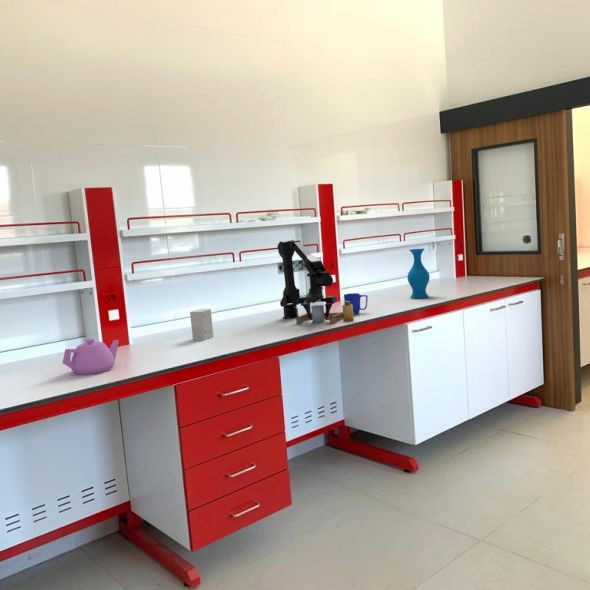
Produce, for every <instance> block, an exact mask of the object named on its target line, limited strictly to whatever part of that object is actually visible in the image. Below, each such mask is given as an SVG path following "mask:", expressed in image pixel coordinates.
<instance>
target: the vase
mask: <svg viewBox="0 0 590 590" xmlns="http://www.w3.org/2000/svg"><path fill="white" fill-rule="evenodd" d="M424 251H425V248H413V249H409V252H410V253H411V254H412V256H413V264H412V266H411V268H410V270H409V271H408V273H407V281H408V283H409V286H410V287H411V289H412V293H411V295H410V298H411V299H426V298H428V297H429V295H428V293H427V286H428V285H429V282H430V278H431V277H430V273H429V271H428V270H427V268H425V266H424V264H423V262H422V254H423V252H424Z"/></svg>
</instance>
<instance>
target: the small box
mask: <svg viewBox="0 0 590 590" xmlns="http://www.w3.org/2000/svg"><path fill="white" fill-rule="evenodd" d="M189 315H190V316H189V317H190V323H191V324H190V325H191V326H190V327H191V333H192V340H193V341H206V340H208V339H211V338H213V337H214V329H213V318H212V309H211V308H198V309H195V310H191V311H190V312H189Z"/></svg>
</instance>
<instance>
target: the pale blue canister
mask: <svg viewBox="0 0 590 590" xmlns="http://www.w3.org/2000/svg"><path fill="white" fill-rule="evenodd" d="M310 310H311V313H312V319H311V320H312V323H313V324H319V323H320V324H321V323H322V324H323V323H325V322H326V319H325V317H324V313H325V304H313V305H310Z"/></svg>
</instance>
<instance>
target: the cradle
mask: <svg viewBox="0 0 590 590" xmlns="http://www.w3.org/2000/svg"><path fill="white" fill-rule="evenodd" d="M324 317H325V320H329V325H330V324H335V323H337V322H339V321H341V320H343V311H342V312H329V315H328V317H327V318H326V312H324ZM295 319H296V324H298V325H300V324H302V323H304V322H307V321H309V320H312V312H311V317H310V318H309V317H308V314H307V312H306V313H304V314H301V315H299V316H298V317H296V318H295Z"/></svg>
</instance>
